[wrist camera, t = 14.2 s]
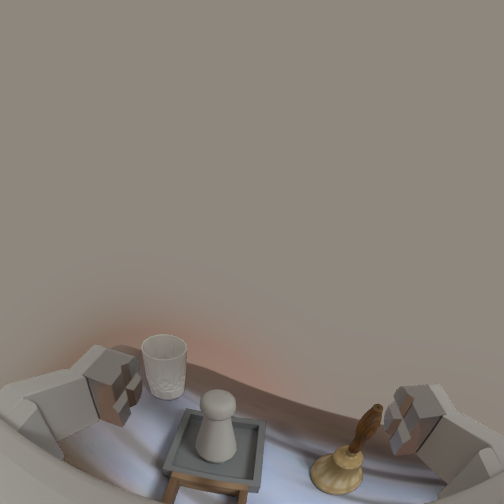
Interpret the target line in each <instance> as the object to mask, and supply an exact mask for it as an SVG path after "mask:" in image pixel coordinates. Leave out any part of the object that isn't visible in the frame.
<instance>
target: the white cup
mask: <svg viewBox="0 0 504 504" xmlns="http://www.w3.org/2000/svg"><path fill="white" fill-rule="evenodd" d="M141 350H142V356H143V362H144V368H145V373H146V377H147V380H148V384H149V388H150V391H151V393H152V394H153V395H154V396H155V397H157V398H160V399H163V400H173V399H176V398H178V397H180V396H181V395H182V394H183V393H184V389H185V379H186V355H187V345H186V343H185V342H184V341H183V340H182V339H181V338H179V337H176V336H174V335H169V334H158V335H153V336H150V337H148V338H146V339H145V340H144V341H143V342H142V345H141Z"/></svg>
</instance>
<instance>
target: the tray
mask: <svg viewBox="0 0 504 504" xmlns="http://www.w3.org/2000/svg"><path fill="white" fill-rule="evenodd" d="M203 418H204V415H203V413H202V411H197V410H192V409H188V408H186V410H185V412H184V415H183V417H182V420H181V422H180V425H179V427H178V430H177V433H176V435H175V438H174V440H173V443H172V445H171V448H170V450H169V453H168V455H167V458H166V460H165V463H164V465H163V468H162V469H163V473H164V476H168V477H171V474H172V471H176V472H180V473H184V474H188V475H192V476H197V477H202V478H207V479H212V480H217V481H223V482H230V483H237V484H244V485H249V487H248V492H252V493H258V492H259V489H260V483H261V473H262V462H263V451H264V440H265V428H266V421H259V420H251V419H243V418H236V417H231V421H232V426H233V431H234V435H235V440H236V447H237V450H236V452H235V454H234V455H233V457H232V458H231V459H229V460H227V461H225V462H224V463H223V464H210V463H208V462H207V461H206V460H205V459H204V458H202V457H201V456H199V454H198V452H197V450H196V448H195V445H196V439H197V436H198V433H199V430H200V427H201V424H202V421H203Z"/></svg>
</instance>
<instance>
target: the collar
mask: <svg viewBox="0 0 504 504" xmlns="http://www.w3.org/2000/svg"><path fill="white" fill-rule="evenodd" d="M179 486H184V487H188V488H193V489H197V490H202V491H207V492H212V493H218V494H224V495H231V496H238V497H239V498H238V504H246V501H247V494H248V487H249V485H244V484H237V483H230V482H223V481H217V480H212V479H207V478H202V477H197V476H192V475H188V474H184V473H180V472H176V471H172V474H171V477H170V480H169V482H168V485H167V488H166V491H165V493H164V496H163V499H162V503H165V504H174V501H175V498H176V495H177V492H178V489H179Z"/></svg>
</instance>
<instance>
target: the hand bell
mask: <svg viewBox="0 0 504 504" xmlns="http://www.w3.org/2000/svg"><path fill="white" fill-rule="evenodd" d="M382 411H383V407H382V405H380V404H375V405H374V406H373V407H372V408H371V409H370V410H369V411H367V412H366V413H365V414H364V415H363V417H362V418H361V420H360V421H359V424H358V426H357V429H356V435H355V438H354V440H353V441H352V443H351V444H350V446H342V447H339V448H338V449H337V450H336V451H335V452H334V453H333V454H328V455H325V456H322V457H321V458H319V459H318V460H316V461H315V463H314V464H313V466H312V468H311V479H312V481H313V483H314V484H315V485H316V487H317V488H319V489H320V490H321V491H323V492H325V493H328V494H333V495H343V494H347V493H350V492H352V491H353V490H355V489H356V488H357V487H358V486H359V485H360V483H361V481H362V478H363V471H362V468H361V464H362V462H363V454H362V452H361V451H360V449H361V448H362V446H363V444H364V442H365V441H366V440H367V439H369V438H370V437H371V436H372V435H373V434H374V433H375V432H376V430H377V429H378V427H379V425H380V422H381V417H382Z"/></svg>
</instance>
